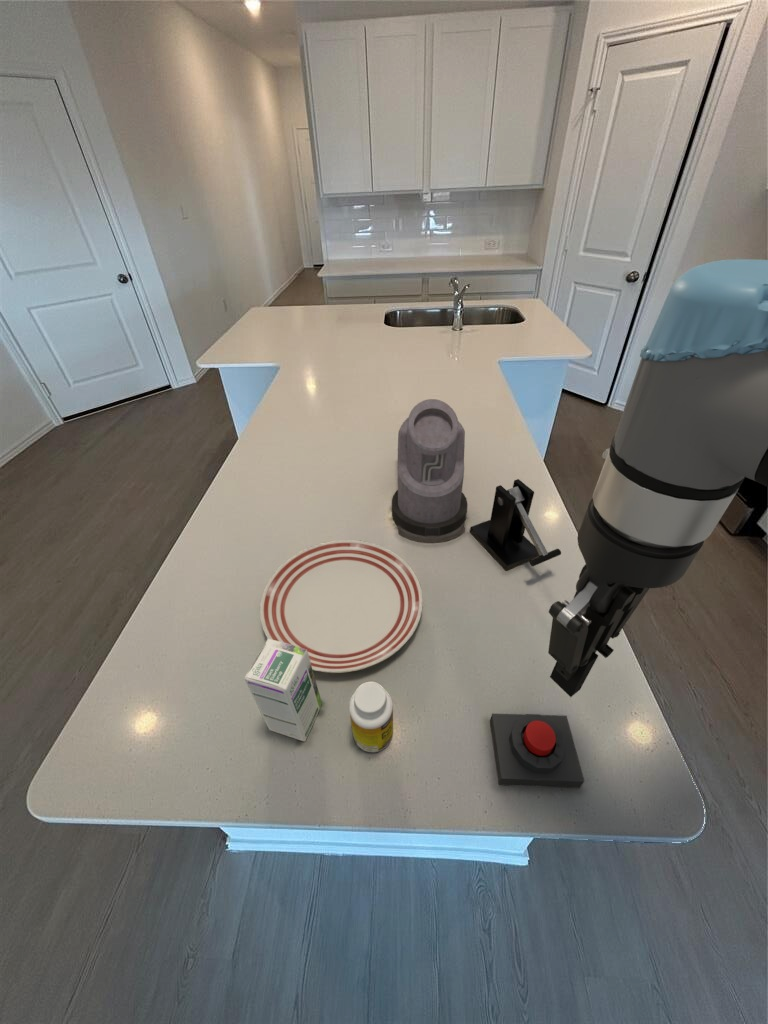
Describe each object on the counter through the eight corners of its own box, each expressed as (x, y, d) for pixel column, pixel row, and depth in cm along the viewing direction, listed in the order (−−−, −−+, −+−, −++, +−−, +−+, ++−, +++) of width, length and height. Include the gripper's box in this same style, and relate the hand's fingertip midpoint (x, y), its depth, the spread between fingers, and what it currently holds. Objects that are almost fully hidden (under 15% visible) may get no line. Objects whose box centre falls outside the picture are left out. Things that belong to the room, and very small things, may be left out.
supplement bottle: (386, 759, 58) (384, 725, 51) (347, 746, 59) (340, 711, 52) (398, 718, 62) (398, 682, 55) (361, 707, 63) (356, 670, 56)
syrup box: (305, 743, 60) (287, 690, 50) (267, 730, 61) (242, 676, 52) (322, 704, 64) (309, 648, 54) (286, 692, 65) (266, 636, 56)
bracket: (539, 556, 84) (556, 501, 75) (505, 571, 82) (518, 515, 73) (501, 520, 93) (511, 466, 84) (469, 531, 90) (477, 477, 81)
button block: (562, 722, 61) (569, 709, 58) (579, 787, 55) (588, 776, 52) (489, 720, 61) (493, 707, 59) (498, 785, 55) (503, 773, 53)
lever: (556, 556, 78) (564, 552, 76) (529, 568, 76) (536, 564, 74) (520, 488, 82) (526, 482, 80) (493, 497, 80) (499, 492, 78)
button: (548, 726, 57) (551, 720, 56) (555, 756, 54) (559, 750, 53) (520, 725, 57) (523, 719, 56) (526, 755, 54) (529, 749, 53)
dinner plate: (445, 578, 81) (446, 566, 79) (378, 711, 63) (377, 700, 60) (319, 535, 91) (317, 523, 88) (229, 639, 72) (224, 628, 70)
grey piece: (472, 542, 88) (488, 435, 72) (392, 544, 88) (390, 438, 72) (453, 458, 111) (462, 363, 95) (389, 460, 111) (387, 365, 95)
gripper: (650, 459, 36) (575, 628, 51) (541, 521, 31) (494, 688, 46) (750, 507, 31) (634, 677, 46) (641, 590, 26) (551, 751, 41)
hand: (564, 683), depth 46 cm, fingers closed
